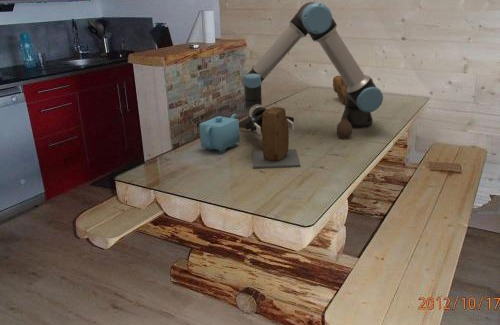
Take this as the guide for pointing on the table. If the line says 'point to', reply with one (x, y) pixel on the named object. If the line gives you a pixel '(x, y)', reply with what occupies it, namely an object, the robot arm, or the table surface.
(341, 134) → the vase
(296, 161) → the mat
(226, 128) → the teapot
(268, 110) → the block
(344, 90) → the rough brown rock
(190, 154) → the table surface
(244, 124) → the hardcover book
